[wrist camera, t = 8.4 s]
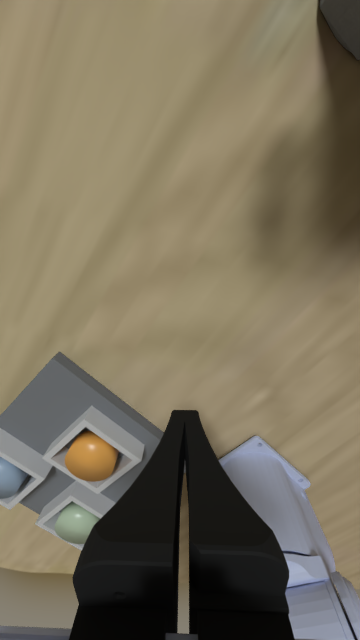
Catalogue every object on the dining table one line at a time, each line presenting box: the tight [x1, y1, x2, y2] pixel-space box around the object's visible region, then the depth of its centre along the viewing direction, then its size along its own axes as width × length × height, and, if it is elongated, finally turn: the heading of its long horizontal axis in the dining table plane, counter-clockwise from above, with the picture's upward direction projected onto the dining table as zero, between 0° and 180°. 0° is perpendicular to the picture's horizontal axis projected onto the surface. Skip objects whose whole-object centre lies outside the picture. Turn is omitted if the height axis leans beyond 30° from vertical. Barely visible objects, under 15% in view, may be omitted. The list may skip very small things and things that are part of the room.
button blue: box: [0, 457, 28, 499], centre depth 25 cm, size 5×5×2 cm
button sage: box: [55, 501, 100, 544], centre depth 27 cm, size 5×5×2 cm
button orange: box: [65, 431, 119, 482], centre depth 23 cm, size 5×5×2 cm
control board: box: [0, 352, 186, 551], centre depth 26 cm, size 18×19×3 cm
